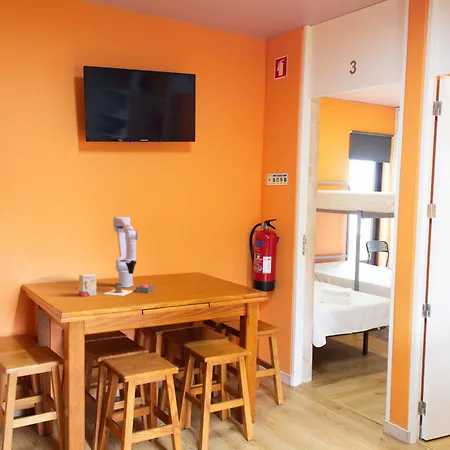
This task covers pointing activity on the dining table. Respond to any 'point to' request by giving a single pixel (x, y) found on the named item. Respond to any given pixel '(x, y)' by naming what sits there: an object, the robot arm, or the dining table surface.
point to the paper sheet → (122, 293)
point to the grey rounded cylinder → (118, 287)
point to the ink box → (87, 285)
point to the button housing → (144, 289)
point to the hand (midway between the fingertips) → (130, 273)
